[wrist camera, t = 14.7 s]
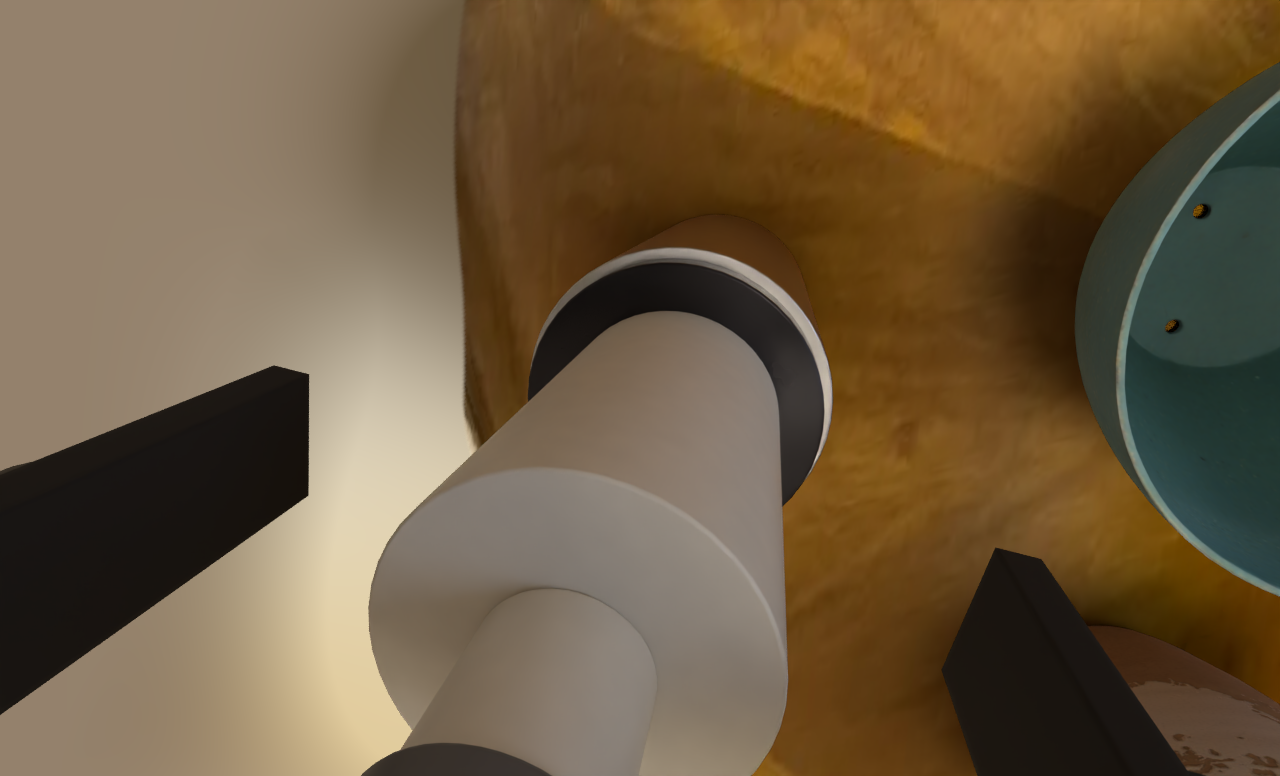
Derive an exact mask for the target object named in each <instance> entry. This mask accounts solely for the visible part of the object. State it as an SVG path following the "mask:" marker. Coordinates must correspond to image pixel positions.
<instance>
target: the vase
mask: <svg viewBox="0 0 1280 776" xmlns="http://www.w3.org/2000/svg"><path fill="white" fill-rule="evenodd" d="M1088 628H1089V629H1090V630H1091V632H1092V633H1093V635H1094V636H1095V638H1096V639H1097V641H1098V642H1099V644H1100V645H1101V646H1102V648H1103V649H1104V651H1105V652H1106V654H1107V655H1108V657H1109V658H1110V659H1111V661H1112V662H1113V664H1114V665H1115V667H1116V668H1117V670H1118V671H1119V672H1120V674H1121V675H1122V677H1123V678H1124V680H1125V681H1126V683H1127V684H1128V685H1129V687H1130V688H1131V690H1132V691H1133V693H1134V694H1135V696H1136V697H1137V698H1138V700H1139V701H1140V703H1141V704H1142V706H1143V707H1144V709H1145V710H1146V711H1147V713H1148V714H1149V716H1150V717H1151V719H1152V720H1153V722H1154V723H1155V725H1156V726H1157V727H1158V729H1159V730H1160V732H1161V733H1162V735H1163V736H1164V738H1165V739H1166V740H1167V742H1168V743H1169V745H1170V746H1171V748H1172V749H1173V751H1174V752H1175V753H1176V755H1177V756H1178V758H1179V759H1180V761H1181V762H1182V764H1183V765H1184V766H1185V768H1186V769H1187V770H1188V771H1192V772H1195V773H1199V774H1202V775H1206V776H1280V705H1279V704H1278V703H1276V702H1274V701H1273V700H1271V699H1270V698H1268V697H1267V696H1265V695H1263V694H1262V693H1260V692H1259V691H1257V690H1255V689H1254V688H1252V687H1250V686H1249V685H1247V684H1246V683H1244V682H1242V681H1241V680H1239V679H1237V678H1235V677H1234V676H1232V675H1230V674H1228V673H1226V672H1224V671H1222V670H1220V669H1218V668H1216V667H1214V666H1212V665H1211V664H1209V663H1207V662H1205V661H1203V660H1201V659H1199V658H1197V657H1195V656H1193V655H1191V654H1189V653H1187V652H1185V651H1183V650H1182V649H1179V648H1177V647H1175V646H1173V645H1171V644H1169V643H1166V642H1164V641H1162V640H1159V639H1157V638H1154V637H1152V636H1149V635H1146V634H1143V633H1139V632H1136V631H1133V630H1130V629H1125V628H1119V627H1114V626H1098V625H1095V626H1088Z"/></svg>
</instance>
